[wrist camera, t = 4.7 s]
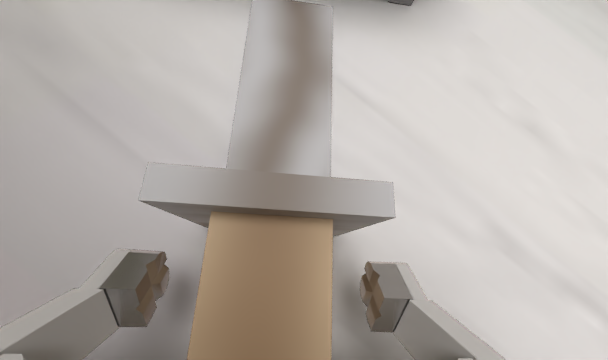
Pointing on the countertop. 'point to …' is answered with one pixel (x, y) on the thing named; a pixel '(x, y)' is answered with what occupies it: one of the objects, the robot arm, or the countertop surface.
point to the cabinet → (402, 1)
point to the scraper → (272, 198)
